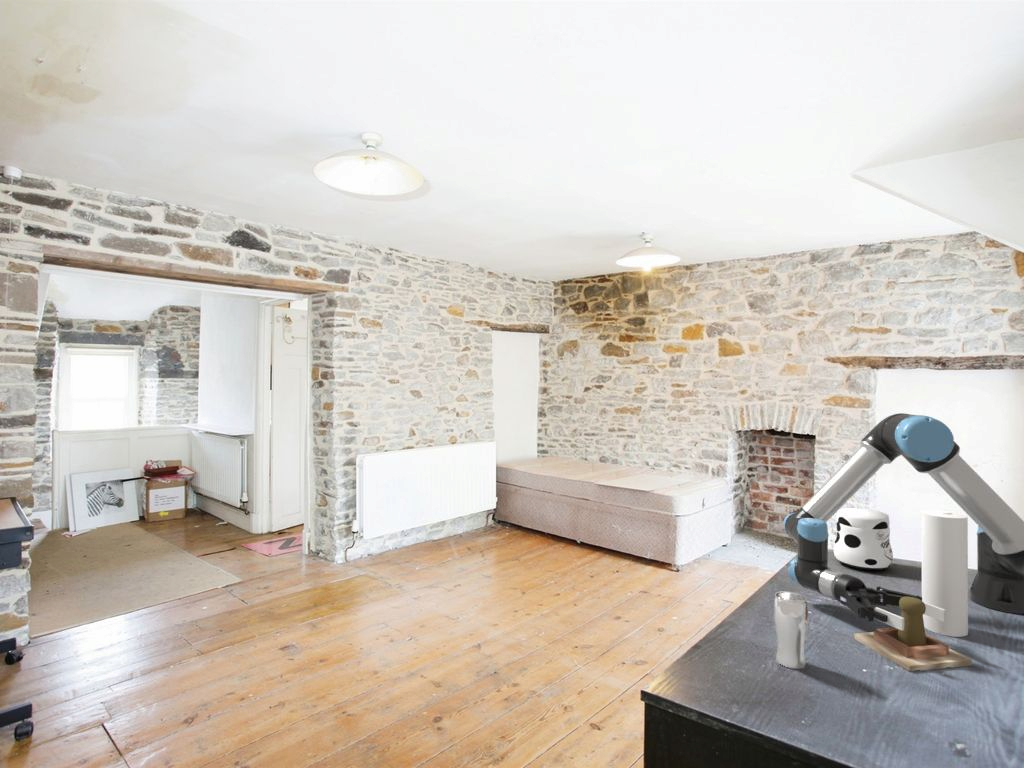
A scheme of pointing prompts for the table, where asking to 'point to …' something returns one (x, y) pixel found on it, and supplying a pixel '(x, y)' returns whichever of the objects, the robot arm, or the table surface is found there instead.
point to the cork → (912, 622)
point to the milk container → (863, 539)
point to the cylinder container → (945, 570)
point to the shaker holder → (912, 651)
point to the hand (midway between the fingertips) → (924, 620)
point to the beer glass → (790, 628)
